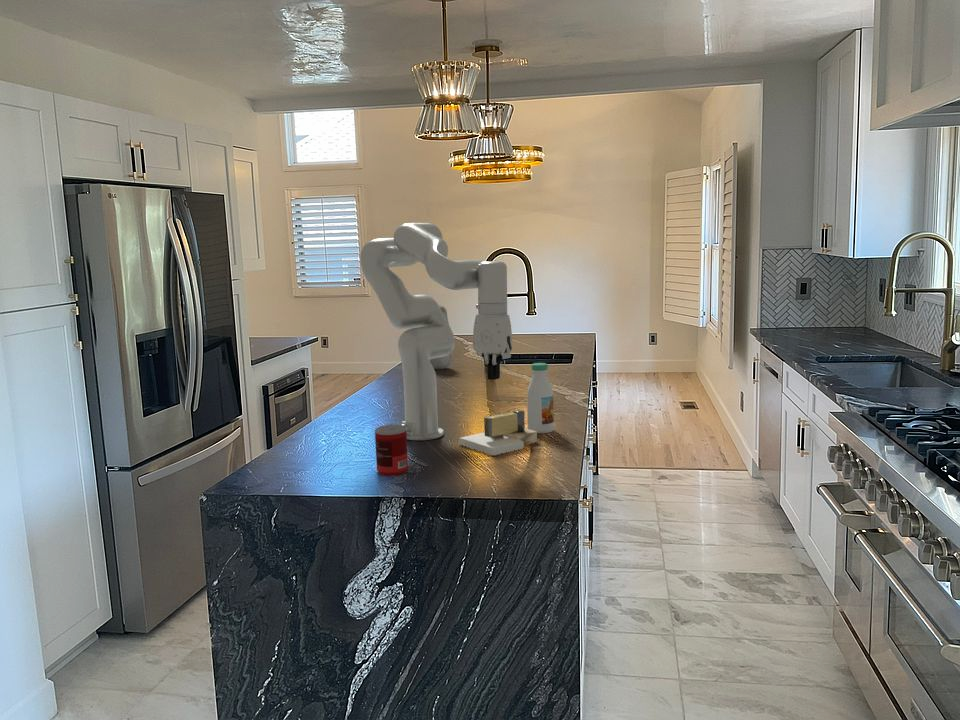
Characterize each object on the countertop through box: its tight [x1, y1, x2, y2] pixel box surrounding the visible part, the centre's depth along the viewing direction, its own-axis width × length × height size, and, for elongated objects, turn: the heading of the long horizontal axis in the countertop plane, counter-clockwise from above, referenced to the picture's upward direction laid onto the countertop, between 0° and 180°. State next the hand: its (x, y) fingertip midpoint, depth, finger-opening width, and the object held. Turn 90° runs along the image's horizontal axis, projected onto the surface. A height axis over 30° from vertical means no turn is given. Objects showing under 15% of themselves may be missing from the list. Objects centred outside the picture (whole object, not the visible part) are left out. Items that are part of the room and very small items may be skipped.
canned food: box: [374, 424, 409, 477], centre depth 196 cm, size 8×8×11 cm
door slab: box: [458, 414, 525, 456], centre depth 217 cm, size 10×15×8 cm
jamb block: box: [503, 428, 538, 446], centre depth 221 cm, size 7×7×3 cm
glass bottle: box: [429, 304, 452, 370], centre depth 344 cm, size 10×10×28 cm
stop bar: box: [483, 409, 526, 437], centre depth 218 cm, size 13×3×5 cm, turn 125°
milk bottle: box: [526, 362, 555, 434], centre depth 231 cm, size 8×8×20 cm
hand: (493, 378), depth 208 cm, fingers closed
